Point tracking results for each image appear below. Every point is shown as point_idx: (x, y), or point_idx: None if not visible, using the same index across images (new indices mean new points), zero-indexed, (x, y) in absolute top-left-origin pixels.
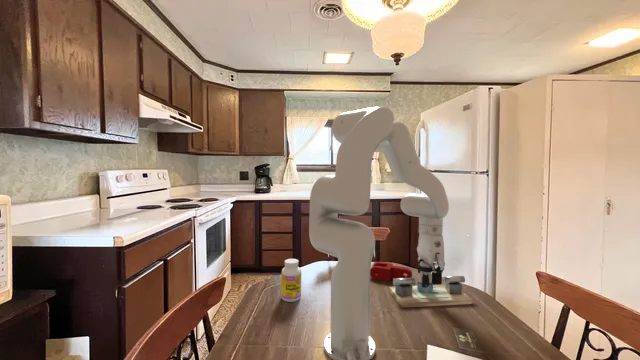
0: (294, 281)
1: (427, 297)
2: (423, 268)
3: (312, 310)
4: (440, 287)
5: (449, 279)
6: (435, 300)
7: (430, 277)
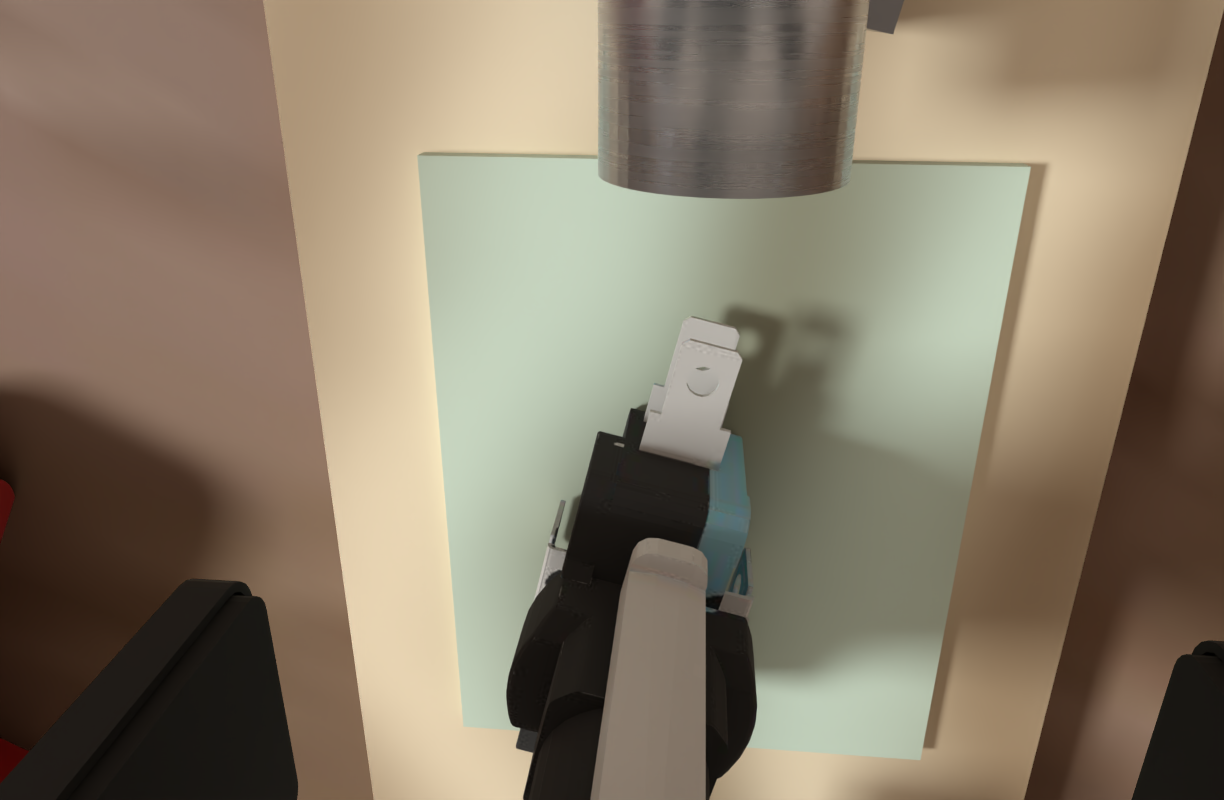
0: None
1: (935, 640)
2: None
3: None
4: (439, 48)
5: (859, 11)
6: (1058, 535)
7: (699, 703)
